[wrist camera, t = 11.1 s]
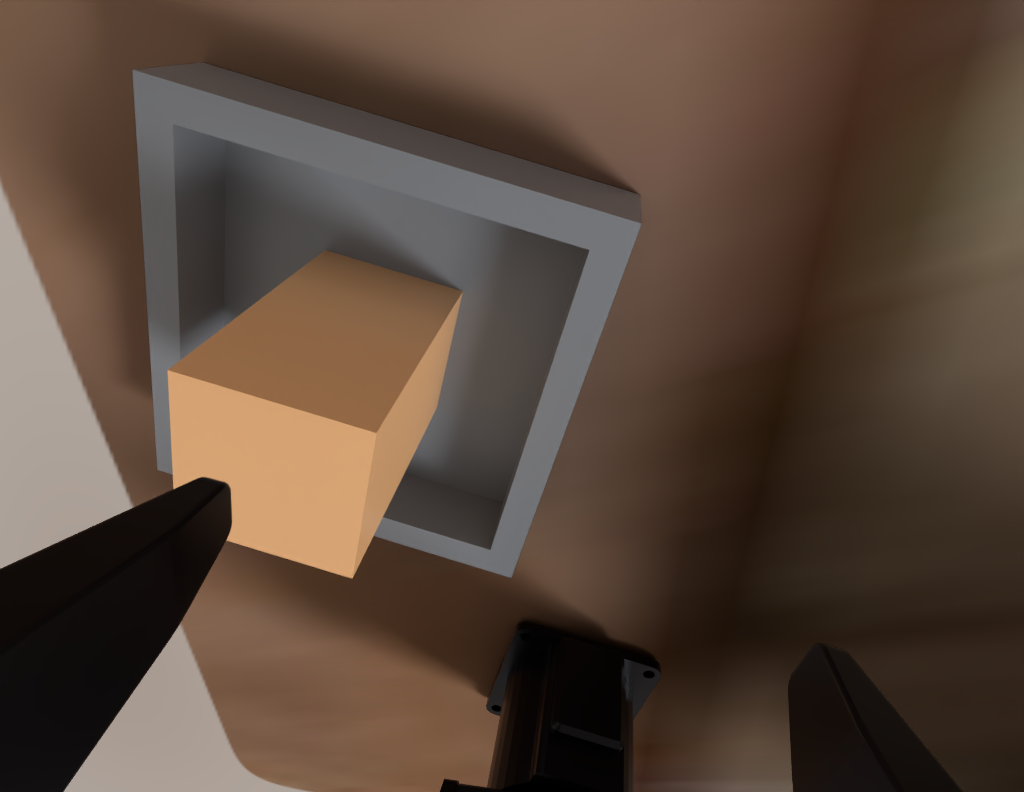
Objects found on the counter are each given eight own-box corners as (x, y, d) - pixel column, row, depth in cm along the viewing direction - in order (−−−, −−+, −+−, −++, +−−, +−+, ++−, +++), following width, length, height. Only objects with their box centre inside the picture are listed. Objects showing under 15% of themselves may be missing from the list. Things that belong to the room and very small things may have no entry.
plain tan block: (436, 407, 22) (352, 578, 16) (313, 370, 22) (175, 524, 16) (462, 291, 20) (376, 433, 13) (324, 249, 20) (167, 370, 13)
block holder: (523, 520, 25) (511, 577, 22) (205, 423, 25) (157, 469, 22) (640, 194, 18) (641, 223, 16) (202, 62, 18) (131, 69, 16)
